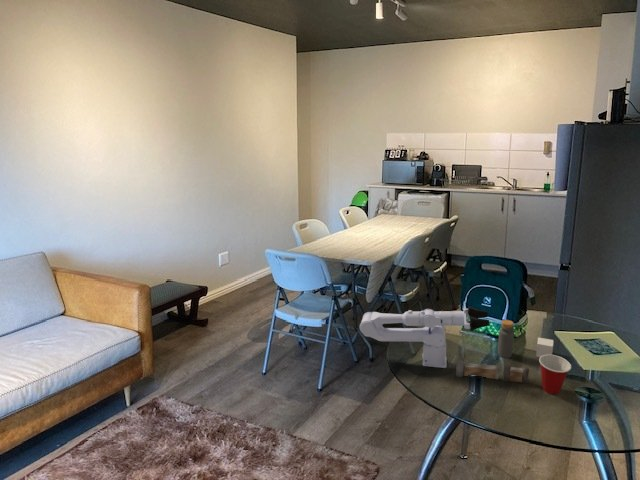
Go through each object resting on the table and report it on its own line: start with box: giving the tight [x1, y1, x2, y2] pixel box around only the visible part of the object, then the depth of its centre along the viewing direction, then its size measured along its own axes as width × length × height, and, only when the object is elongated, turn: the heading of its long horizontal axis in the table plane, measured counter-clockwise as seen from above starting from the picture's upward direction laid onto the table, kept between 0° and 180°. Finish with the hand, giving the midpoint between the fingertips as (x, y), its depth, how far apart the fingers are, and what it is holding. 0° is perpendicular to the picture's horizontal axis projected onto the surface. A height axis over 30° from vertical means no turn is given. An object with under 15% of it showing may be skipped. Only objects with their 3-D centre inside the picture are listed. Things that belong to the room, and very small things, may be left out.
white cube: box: [535, 337, 554, 358], centre depth 208 cm, size 6×6×6 cm
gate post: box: [455, 359, 465, 378], centre depth 195 cm, size 3×3×6 cm
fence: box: [502, 364, 530, 385], centre depth 190 cm, size 9×2×6 cm, turn 76°
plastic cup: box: [538, 354, 572, 395], centre depth 182 cm, size 11×11×12 cm
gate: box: [463, 362, 500, 380], centre depth 193 cm, size 13×2×5 cm, turn 76°
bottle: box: [497, 319, 515, 359], centre depth 207 cm, size 6×6×15 cm
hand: (488, 318), depth 194 cm, fingers open, 7 cm apart
